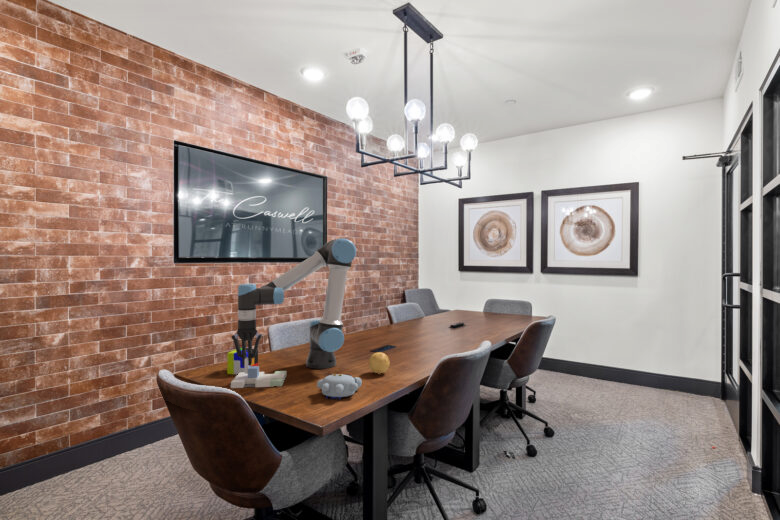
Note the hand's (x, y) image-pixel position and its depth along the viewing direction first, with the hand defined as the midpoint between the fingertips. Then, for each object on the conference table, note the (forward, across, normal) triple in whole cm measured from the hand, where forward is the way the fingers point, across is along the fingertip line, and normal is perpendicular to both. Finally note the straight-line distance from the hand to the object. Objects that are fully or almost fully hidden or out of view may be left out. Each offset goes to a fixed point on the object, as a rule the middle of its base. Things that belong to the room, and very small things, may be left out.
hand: (247, 372), depth 171 cm
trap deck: (+4, +6, 0) cm, 7 cm away
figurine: (+5, +41, -18) cm, 45 cm away
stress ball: (+5, +59, +6) cm, 60 cm away
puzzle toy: (+5, -6, +17) cm, 19 cm away
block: (+2, +3, 0) cm, 3 cm away
